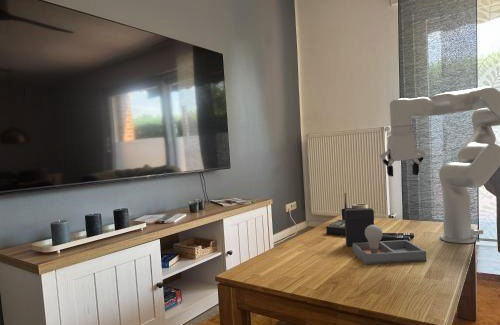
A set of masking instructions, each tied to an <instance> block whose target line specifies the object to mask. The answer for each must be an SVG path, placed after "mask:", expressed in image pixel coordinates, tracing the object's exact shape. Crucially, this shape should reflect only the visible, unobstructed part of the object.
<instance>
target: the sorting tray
mask: <svg viewBox="0 0 500 325" xmlns="http://www.w3.org/2000/svg"><path fill="white" fill-rule="evenodd" d="M352 253H353V254H354V255H355V256H357V258H358V259H359V260H360V261H362V263H363V264H365V265H367V266H368V265H370V266H371V265H383V264H385V265H386V264H399V263H401V264H402V263H417V262H419V263H420V262H427V251H426V250H425V249H424V248H421V246H418V245H416V244H415V243H413V242H411V241H409V240H408V239H403V240H402V239H401V240H400V239H399V240H385V241H384V240H383V241H381V240H380V242H379V248H378V253H371V251H370V246H369V242H364V243H353V247H352Z"/></svg>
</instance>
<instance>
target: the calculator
mask: <svg viewBox="0 0 500 325" xmlns="http://www.w3.org/2000/svg"><path fill="white" fill-rule="evenodd" d="M343 211H344V220H345V234H346V236H345V245H346V246H347V247H348V248H349V247H350V248H351V247H352V248H353V243H364V242H368V240H367V238H366V236H365V229H366V228H367V227H368V226H370V225H375V210H374V209H373V208H371V207H365V208H364V207H362V208H347V209H345V208H344V210H343Z"/></svg>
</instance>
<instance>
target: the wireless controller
mask: <svg viewBox="0 0 500 325" xmlns="http://www.w3.org/2000/svg"><path fill="white" fill-rule="evenodd" d="M345 209H348V206H347V193H346V192H344V210H345ZM325 230H326V235H331V236H339V237H346V234H345V219H337V220H335V221H334V222H332V223H331V224H329V225H327V226H326V229H325Z"/></svg>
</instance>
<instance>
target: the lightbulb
mask: <svg viewBox="0 0 500 325" xmlns="http://www.w3.org/2000/svg"><path fill="white" fill-rule="evenodd" d="M383 235H384V234H383V230H382V229H381V227H380V226H378V225H376V224H374V225H370V226H368V227H367V228H366V229H365V236H366V238H367V240H368V242H369V246H370V251H371V253H378V248H379V242H381V240H382V238H383Z"/></svg>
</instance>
